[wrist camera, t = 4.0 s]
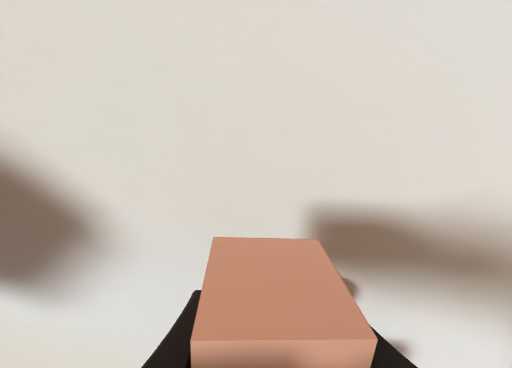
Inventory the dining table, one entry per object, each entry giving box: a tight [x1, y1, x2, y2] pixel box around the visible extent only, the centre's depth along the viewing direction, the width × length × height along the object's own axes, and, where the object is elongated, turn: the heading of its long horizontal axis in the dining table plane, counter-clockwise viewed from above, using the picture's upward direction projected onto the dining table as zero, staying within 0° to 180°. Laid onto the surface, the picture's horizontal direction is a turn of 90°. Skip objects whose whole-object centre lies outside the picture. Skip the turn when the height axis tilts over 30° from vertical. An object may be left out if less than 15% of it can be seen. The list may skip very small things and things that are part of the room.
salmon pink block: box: [191, 237, 378, 368], centre depth 10 cm, size 5×5×6 cm
